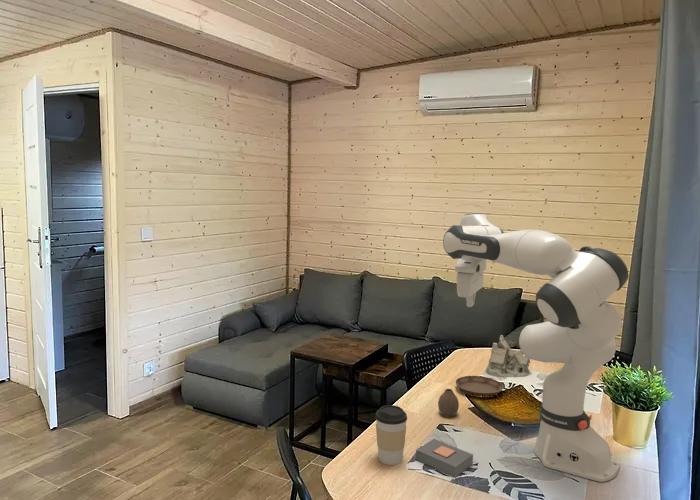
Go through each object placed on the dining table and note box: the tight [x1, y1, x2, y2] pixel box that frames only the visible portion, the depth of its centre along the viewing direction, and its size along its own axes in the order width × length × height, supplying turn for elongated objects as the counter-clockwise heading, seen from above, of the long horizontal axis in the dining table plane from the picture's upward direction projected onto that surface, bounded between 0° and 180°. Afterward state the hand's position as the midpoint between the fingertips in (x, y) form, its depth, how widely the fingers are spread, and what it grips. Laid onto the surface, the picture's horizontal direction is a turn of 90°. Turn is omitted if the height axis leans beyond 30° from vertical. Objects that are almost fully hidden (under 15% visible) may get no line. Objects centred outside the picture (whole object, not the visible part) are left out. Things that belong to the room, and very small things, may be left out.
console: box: [415, 438, 474, 478], centre depth 145 cm, size 13×9×3 cm
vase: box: [437, 388, 460, 418], centre depth 175 cm, size 7×7×9 cm
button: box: [433, 446, 455, 458], centre depth 145 cm, size 4×4×3 cm
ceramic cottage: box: [485, 334, 531, 378], centre depth 215 cm, size 16×16×15 cm
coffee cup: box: [375, 404, 408, 466], centre depth 146 cm, size 9×9×15 cm
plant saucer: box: [455, 375, 504, 395], centre depth 197 cm, size 18×18×3 cm
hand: (470, 306), depth 166 cm, fingers closed
